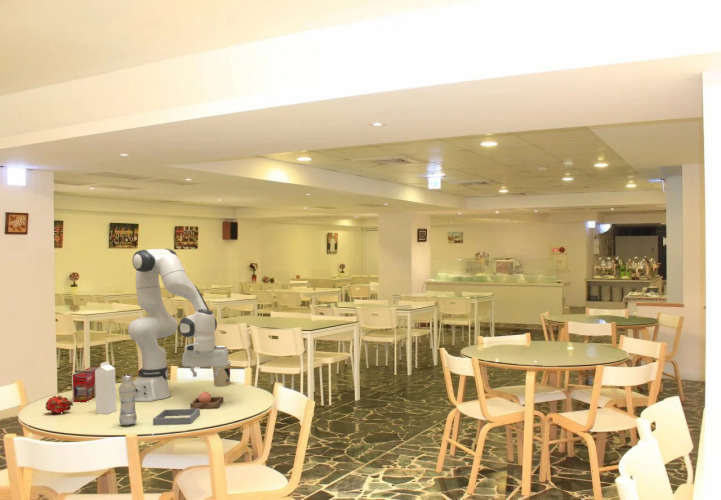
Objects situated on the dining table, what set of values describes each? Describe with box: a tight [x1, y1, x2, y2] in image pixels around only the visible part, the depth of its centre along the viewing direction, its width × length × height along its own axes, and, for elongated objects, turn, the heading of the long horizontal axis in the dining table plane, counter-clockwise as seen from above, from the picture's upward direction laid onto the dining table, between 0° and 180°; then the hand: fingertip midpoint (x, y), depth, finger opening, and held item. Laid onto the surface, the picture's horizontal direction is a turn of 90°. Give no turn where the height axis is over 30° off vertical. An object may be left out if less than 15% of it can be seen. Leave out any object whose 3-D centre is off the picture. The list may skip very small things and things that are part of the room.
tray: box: [189, 396, 224, 410], centre depth 284 cm, size 12×12×2 cm
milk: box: [95, 360, 117, 415], centre depth 278 cm, size 6×6×22 cm
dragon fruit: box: [44, 395, 74, 414], centre depth 278 cm, size 8×8×12 cm
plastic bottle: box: [118, 374, 138, 426], centre depth 255 cm, size 6×7×20 cm
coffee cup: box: [212, 360, 231, 388], centre depth 329 cm, size 9×9×12 cm
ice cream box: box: [71, 366, 100, 403], centre depth 309 cm, size 20×6×13 cm, turn 1°
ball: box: [197, 391, 212, 403], centre depth 284 cm, size 6×6×6 cm
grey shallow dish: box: [152, 408, 201, 426], centre depth 261 cm, size 15×15×2 cm
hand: (205, 376), depth 284 cm, fingers open, 8 cm apart
